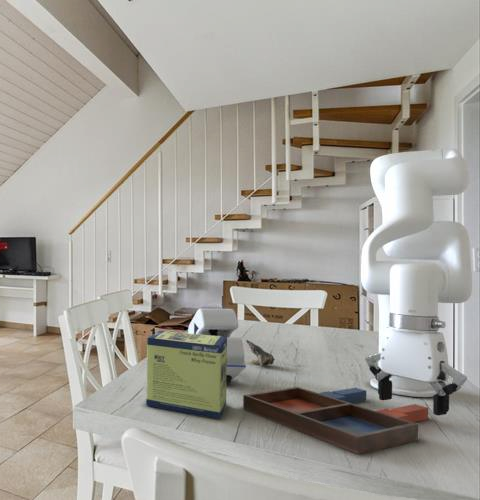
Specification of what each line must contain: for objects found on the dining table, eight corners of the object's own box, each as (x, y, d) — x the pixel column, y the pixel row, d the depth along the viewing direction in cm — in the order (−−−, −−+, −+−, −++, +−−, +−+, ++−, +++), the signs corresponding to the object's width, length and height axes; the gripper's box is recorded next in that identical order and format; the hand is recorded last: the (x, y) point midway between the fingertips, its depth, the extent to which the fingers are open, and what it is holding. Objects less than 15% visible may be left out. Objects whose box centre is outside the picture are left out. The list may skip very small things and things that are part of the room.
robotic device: (228, 401, 132) (214, 334, 143) (256, 375, 114) (238, 300, 125) (189, 400, 133) (178, 333, 144) (211, 373, 115) (197, 300, 126)
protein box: (221, 420, 99) (222, 345, 98) (145, 406, 107) (145, 337, 106) (227, 405, 107) (228, 336, 107) (156, 393, 116) (157, 329, 115)
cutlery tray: (297, 399, 111) (297, 386, 111) (418, 440, 88) (418, 423, 88) (243, 408, 105) (243, 394, 105) (358, 454, 83) (358, 437, 83)
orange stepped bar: (410, 413, 102) (410, 402, 102) (433, 420, 98) (433, 409, 98) (370, 422, 97) (370, 410, 97) (392, 429, 94) (392, 417, 94)
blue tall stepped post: (351, 396, 113) (352, 386, 113) (370, 402, 109) (370, 391, 109) (313, 403, 109) (313, 392, 109) (330, 409, 105) (331, 398, 105)
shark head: (240, 363, 143) (240, 341, 143) (251, 360, 147) (251, 338, 147) (267, 369, 137) (267, 346, 136) (278, 366, 140) (278, 343, 140)
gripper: (477, 329, 91) (476, 418, 91) (378, 317, 108) (377, 393, 108) (454, 331, 89) (452, 423, 89) (356, 318, 105) (355, 396, 105)
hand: (411, 406), depth 98 cm, fingers open, 9 cm apart
